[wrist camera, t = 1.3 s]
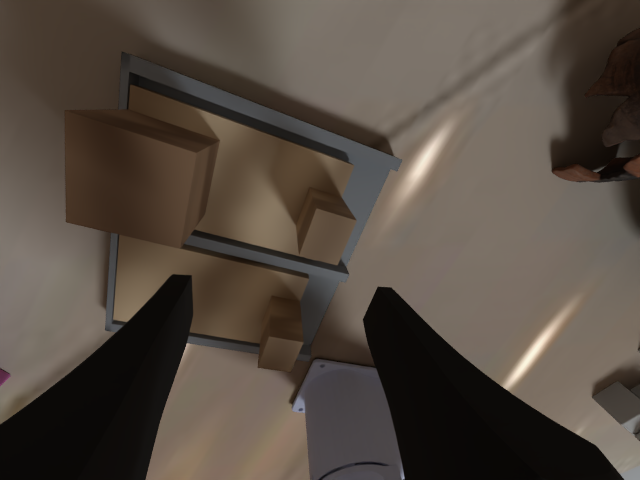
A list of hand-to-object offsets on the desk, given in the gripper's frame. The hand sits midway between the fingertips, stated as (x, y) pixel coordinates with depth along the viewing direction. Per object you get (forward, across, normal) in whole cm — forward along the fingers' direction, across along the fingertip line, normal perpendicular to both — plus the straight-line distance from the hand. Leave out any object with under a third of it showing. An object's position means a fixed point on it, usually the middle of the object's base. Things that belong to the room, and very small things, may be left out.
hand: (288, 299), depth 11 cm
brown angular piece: (+11, +3, 0) cm, 11 cm away
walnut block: (+10, +7, -1) cm, 12 cm away
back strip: (+10, +4, +9) cm, 14 cm away
